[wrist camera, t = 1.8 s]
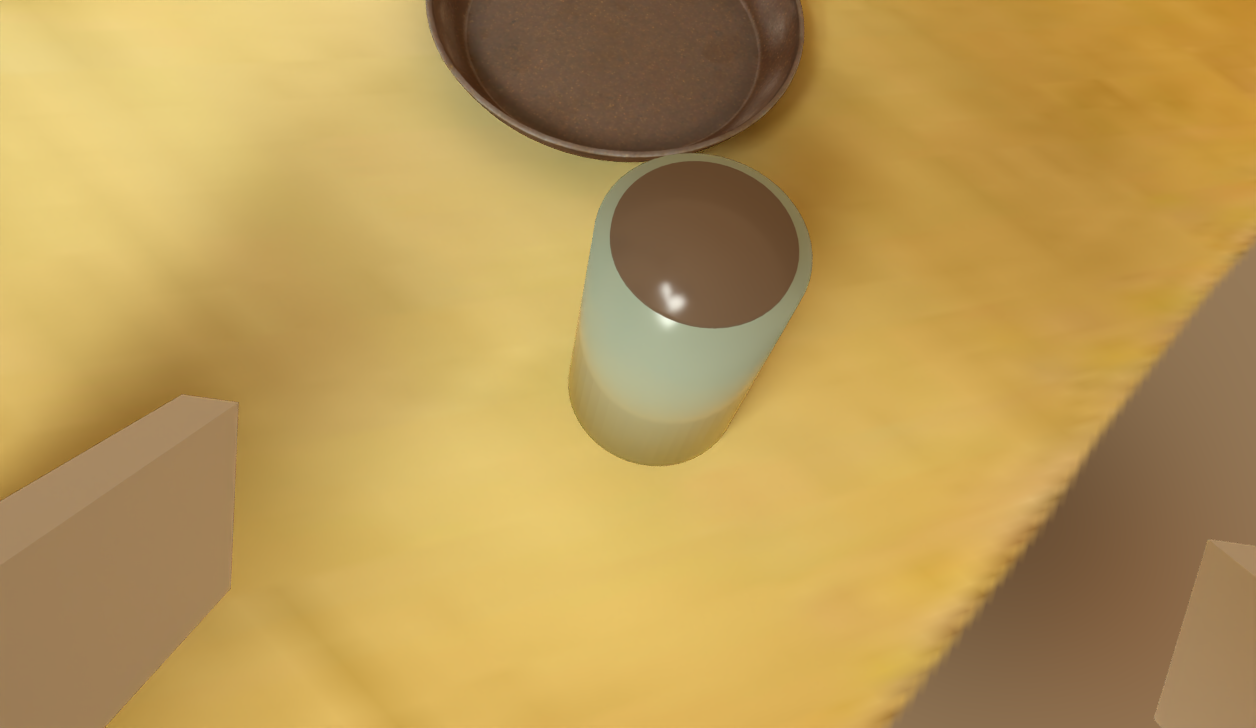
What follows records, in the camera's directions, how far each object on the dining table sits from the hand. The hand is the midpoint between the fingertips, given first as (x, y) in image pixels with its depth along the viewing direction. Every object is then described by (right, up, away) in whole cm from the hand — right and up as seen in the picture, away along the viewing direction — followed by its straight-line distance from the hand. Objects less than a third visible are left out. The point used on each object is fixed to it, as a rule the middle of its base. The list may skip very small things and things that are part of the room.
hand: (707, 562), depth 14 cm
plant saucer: (-2, +18, +36) cm, 40 cm away
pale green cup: (0, +2, +28) cm, 28 cm away
